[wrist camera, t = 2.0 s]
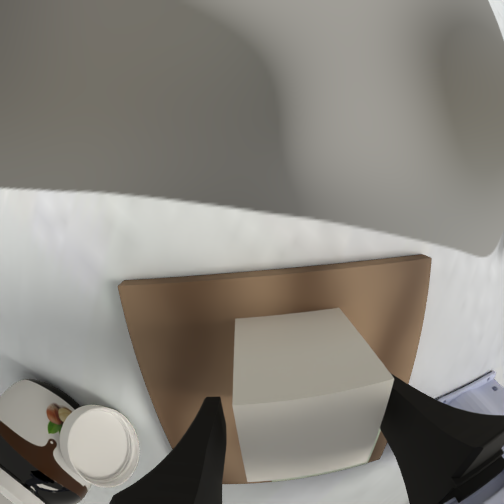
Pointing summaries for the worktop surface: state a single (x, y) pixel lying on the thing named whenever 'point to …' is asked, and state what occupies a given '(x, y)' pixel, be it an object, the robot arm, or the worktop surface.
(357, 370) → the rounded beige cube
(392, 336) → the walnut board
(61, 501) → the spread jar
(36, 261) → the worktop surface
